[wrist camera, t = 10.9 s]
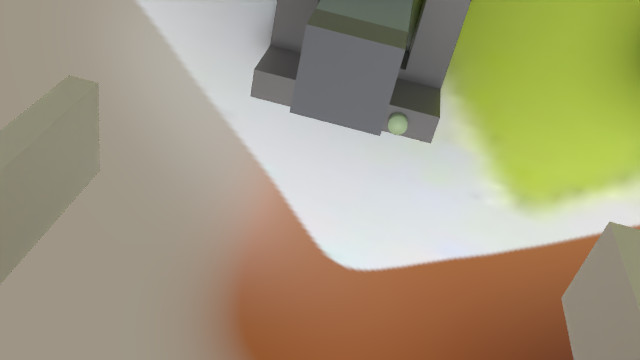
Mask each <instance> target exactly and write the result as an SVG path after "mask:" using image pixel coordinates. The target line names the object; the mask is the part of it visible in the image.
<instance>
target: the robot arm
mask: <svg viewBox="0 0 640 360" xmlns="http://www.w3.org/2000/svg"><path fill="white" fill-rule="evenodd" d="M99 162H100V161H99V102H98V83H96V82H93V81H89V80H85V79H81V78H78V77H74V76H70V75H69V76H68V77H66V78H65V79H64V80H63V81H62V82H60V83H59V84H58V85H56V86H55V87H54V88H53V89H51V90H50V91H49V92H48V93H47V94H45V95H44V96H43V97H42V98H40V99H39V100H38V101H37V102H35V103H34V104H33V105H32V106H30V107H29V108H28V109H27V110H25V111H24V112H23V113H22V114H21V115H19V116H18V117H17V118H16V119H14V120H13V121H12V122H11V123H9V124H8V125H7V126H6V127H4V128H3V129H2V130H1V131H0V284H1V283H2V282H3V281H4V280H5V278H6V277H7V276H8V275H9V274H10V273H11V272H12V270H13V269H14V268H15V267H16V266H17V265H18V263H19V262H20V261H21V260H22V259H23V258H24V257H25V256H26V254H27V253H28V252H29V251H30V250H31V249H32V247H33V246H34V245H35V244H36V243H37V242H38V240H40V238H41V237H42V236H43V235H44V234H45V233H46V231H47V230H48V229H49V228H50V227H51V226H52V225H53V223H54V222H55V221H56V220H57V219H58V218H59V217H60V215H61V214H62V213H63V212H64V211H65V210H66V209H67V207H68V206H69V205H70V204H71V203H72V202H73V201H74V199H75V198H76V197H77V196H78V195H79V194H80V193H81V191H82V190H83V189H84V188H85V187H86V186H87V185H88V183H89V182H90V181H91V180H92V179H93V178H94V177H95V175H96V174H97V173H98V172H99V171H100V163H99ZM562 303H563V308H564V313H565V318H566V323H567V328H568V333H569V338H570V343H571V348H572V353H573V358H574V360H640V230H638V229H635V228H631V227H627V226H624V225H620V224H616V223H613V222H609V223H608V225H607V226H606V228H605V230H604V231H603V233H602V234H601V236H600V238H599V239H598V241H597V242H596V244H595V246H594V247H593V249H592V250H591V252H590V253H589V255H588V257H587V258H586V260H585V261H584V263H583V265H582V266H581V268H580V269H579V271H578V273H577V274H576V276H575V277H574V279H573V281H572V282H571V284H570V285H569V287H568V289H567V290H566V292H565V293H564V295H563V297H562Z"/></svg>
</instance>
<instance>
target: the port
mask: <svg viewBox="0 0 640 360" xmlns="http://www.w3.org/2000/svg"><path fill="white" fill-rule="evenodd" d="M319 1H320V0H277V6H276V13H275V19H274V25H273V32H272V38H271V44H270V47H269V48H268V50H267V51H266V53H265V54H264V56H263V57H262V59H261V60H260V62H259V63H258V65H257V66H256V68H255V69H254V75H253V82H252V89H251V96H252V97H255V98H259V99H263V100H267V101H271V102H274V103H278V104H282V105H286V106H290V107H291V103H292V97H293V92H294V87H295V82H296V76H297V71H298V66H299V61H300V55H301V50H302V45H303V40H304V34H305V29H306V24H307V22H308V21H309V19H310V17H311V15H312V14H313V12H314V10H315V8H316V7H317V5H318V3H319ZM470 2H471V0H424V2H423V5H422V8H421V12H420V15H419V18H418V22H417V25H416V28H415V32H414V35H413V38H412V42H411V45H410V48H409V52H408V53H404V56H403V60H402V63H401V66H400V70H399V73H398V76H397V80H396V83H395V87H394V90H393V93H392V97H391V100H390V104H389V107H388V110H387V114H386V117H385V121H384V124H383V127H382V131H385V132H389V133H393V134H395V135H401V136H405V137H408V138H412V139H416V140H420V141H424V142H428V143H431V141H432V138H433V135H434V133H435V130H436V127H437V124H438V121H439V118H440V89H441V86H442V83H443V80H444V78H445V75H446V72H447V69H448V66H449V63H450V60H451V57H452V54H453V51H454V48H455V46H456V43H457V40H458V37H459V34H460V31H461V28H462V25H463V22H464V19H465V17H466V14H467V11H468V8H469V5H470Z"/></svg>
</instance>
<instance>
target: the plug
mask: <svg viewBox="0 0 640 360" xmlns="http://www.w3.org/2000/svg"><path fill="white" fill-rule="evenodd" d="M412 4H413V0H320V1H319V3H318V5H317V7H316V8H315V10H314V12H313V14H312V15H311V17H310V19H309V21H308V22H307V24H306V29H305V34H304V40H303V45H302V50H301V55H300V61H299V66H298V71H297V76H296V82H295V87H294V92H293V97H292V103H291V108H290V112H291V113H294V114H298V115H302V116H306V117H310V118H314V119H317V120H321V121H325V122H329V123H333V124H337V125H340V126H344V127H348V128H352V129H356V130H359V131H363V132H367V133H371V134H375V135H379V136H380V134H381V131H382V127H383V124H384V121H385V117H386V114H387V110H388V107H389V104H390V100H391V97H392V93H393V90H394V87H395V83H396V80H397V76H398V73H399V70H400V66H401V63H402V60H403V56H404V53H405V49H406V43H407V36H408V30H409V23H410V17H411V11H412Z"/></svg>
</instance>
